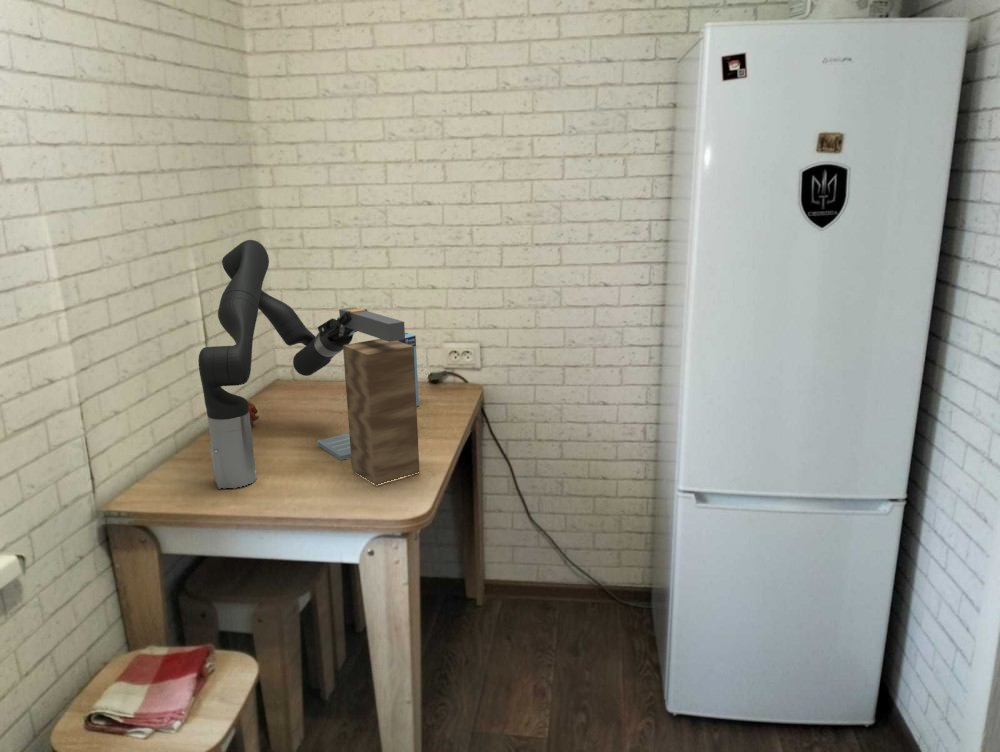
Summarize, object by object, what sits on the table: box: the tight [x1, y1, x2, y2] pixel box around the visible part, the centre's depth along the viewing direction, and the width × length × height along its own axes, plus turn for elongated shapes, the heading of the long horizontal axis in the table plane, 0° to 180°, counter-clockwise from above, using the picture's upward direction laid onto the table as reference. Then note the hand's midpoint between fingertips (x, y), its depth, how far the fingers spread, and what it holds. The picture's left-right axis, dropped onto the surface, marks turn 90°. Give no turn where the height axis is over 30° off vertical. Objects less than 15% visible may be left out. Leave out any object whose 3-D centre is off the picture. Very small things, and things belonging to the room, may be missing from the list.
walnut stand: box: [342, 338, 420, 485], centre depth 176 cm, size 12×12×32 cm
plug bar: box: [338, 306, 406, 342], centre depth 172 cm, size 24×4×4 cm, turn 38°
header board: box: [316, 432, 351, 461], centre depth 196 cm, size 14×10×1 cm
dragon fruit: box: [247, 400, 260, 428], centre depth 211 cm, size 8×8×12 cm
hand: (358, 314), depth 177 cm, fingers closed on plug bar, 4 cm apart
